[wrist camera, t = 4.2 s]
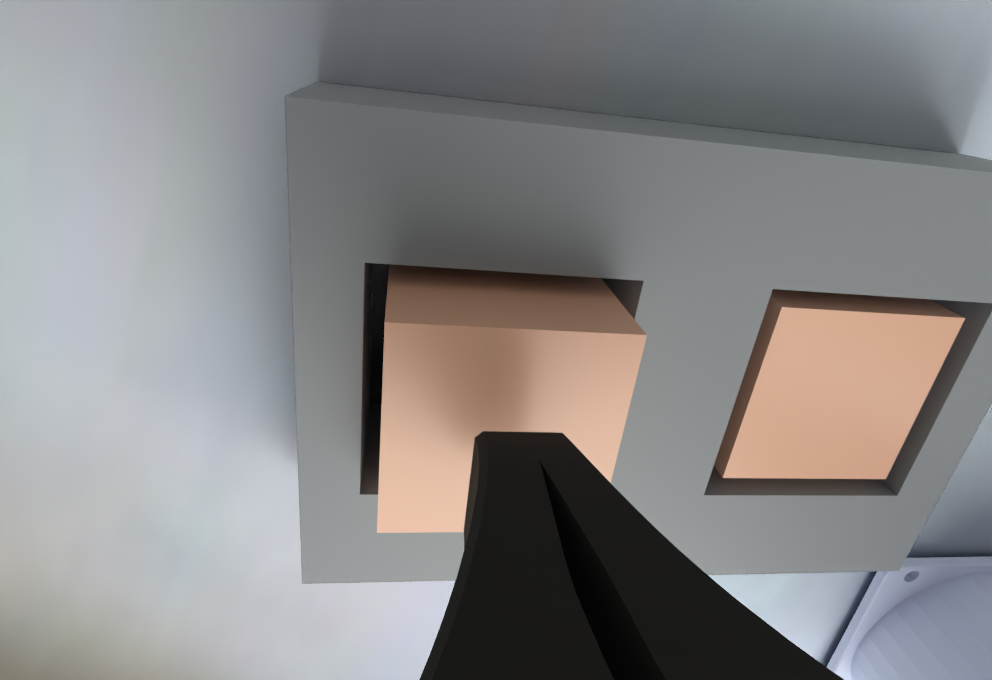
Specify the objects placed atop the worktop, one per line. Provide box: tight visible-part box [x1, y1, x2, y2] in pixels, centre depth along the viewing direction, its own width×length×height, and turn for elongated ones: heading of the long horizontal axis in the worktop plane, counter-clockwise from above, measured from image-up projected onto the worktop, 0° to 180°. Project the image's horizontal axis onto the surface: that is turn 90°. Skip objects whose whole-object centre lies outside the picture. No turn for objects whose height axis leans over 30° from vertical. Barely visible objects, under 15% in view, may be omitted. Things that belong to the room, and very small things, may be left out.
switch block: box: [285, 82, 992, 584], centre depth 14 cm, size 15×10×4 cm, turn 83°
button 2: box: [714, 289, 965, 479], centre depth 14 cm, size 4×4×3 cm
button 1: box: [377, 264, 647, 533], centre depth 12 cm, size 4×4×3 cm
